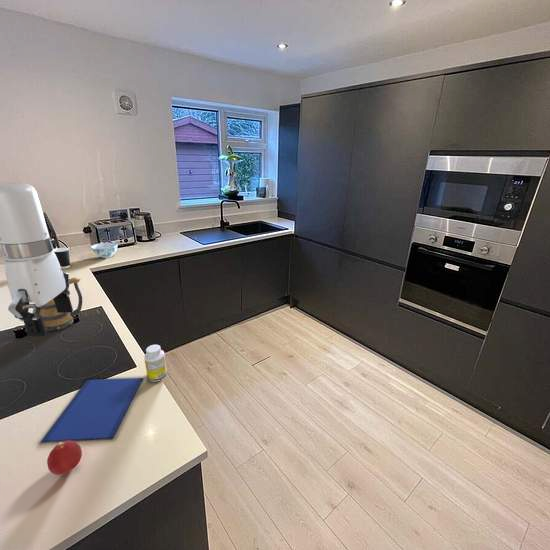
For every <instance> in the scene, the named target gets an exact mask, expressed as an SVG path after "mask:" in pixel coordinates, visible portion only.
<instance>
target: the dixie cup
mask: <svg viewBox="0 0 550 550" xmlns="http://www.w3.org/2000/svg"><path fill="white" fill-rule="evenodd" d="M53 250H54V253H55V255H56V257H57V259H58V262H59V264H60V267H61V269H67V268H71V259H70V248H69V247H58V248H53Z"/></svg>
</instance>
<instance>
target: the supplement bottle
mask: <svg viewBox="0 0 550 550" xmlns="http://www.w3.org/2000/svg"><path fill="white" fill-rule="evenodd" d="M145 352H146V353H145V355H144V357H143V359H144V364H145V370H146V376H147V379H148V380H149V381H150V382H161V381H162V380H164V379H165V378H166V377H167V375H168V370H167V362H166V356H165V355H166V354H165V351H164V350H162V348H161V345H159V344H151V345H148V347H146V349H145ZM160 379H161V380H160Z"/></svg>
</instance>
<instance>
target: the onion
mask: <svg viewBox="0 0 550 550" xmlns="http://www.w3.org/2000/svg"><path fill="white" fill-rule="evenodd" d="M82 457H83V450H82V446H81V445H80V444H79V443H78V442H76V441H75V440H68V441H60V442H58V443H57V444H56V445H55V446H54V447H53V449H52V450H50V452H49V454H48V456H47V459H46V464H47V469H48V471H49V472H50V473H52V475H57V476H60V475H65V474H67V473H69V472H71V471H72V470H73V469H75V468H76V467H77V466H78V465H79V464H80V462H81V459H82Z"/></svg>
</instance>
